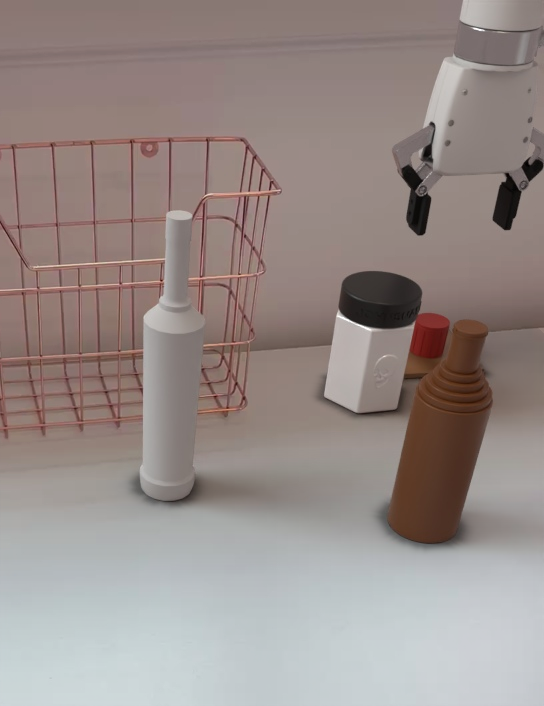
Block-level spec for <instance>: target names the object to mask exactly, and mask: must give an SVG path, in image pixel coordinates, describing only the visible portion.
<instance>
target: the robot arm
mask: <svg viewBox="0 0 544 706" xmlns="http://www.w3.org/2000/svg"><path fill="white" fill-rule="evenodd" d="M543 21H544V0H462V3H461V9H460V14H459V20H458V25H457V30H456V37H455V42H454V48H453V54H452V56H445V57H444V58H443V61H442V62H441V65H440V68H439V70H438V73H437V76H436V80H435V81H434V85H433V89H432V92H431V94H430V97H429V102H428V107H427V110H426V113H425V117H424V122H423V125H422V128H421V129H420V130H417V132H414V133H413V134H411V135H409V136H407V137H405V138H404V139H402V140H401V141H399V142H397V143H396V144H394V145H393V146H392V149H391V154H392V156H393V160H394V162H395V166H396V168H397V169H396V170H397V173H398V175H399V176H400V177H401V178H402V179H403V181H404V182H405V183H406V185H407V187H408V188H409V189H410V190H409V191H410V192H409V197H408V203H407V210H406V217H405V220H406V223H407V227H408V228H409V230H411V231H412V232H413V233H414V234H415V235H416V236H419V237H420V236H421V237H422V236H424V235H425V234H426V232H427V227H428V221H429V216H430V210H431V204H432V197H431V195H429V192H430V191H431V189H432V188H433V187H434V186H435V185H436V184H437V182H439V181H440V179H441V178H442V177H457V176H458V177H459V176H482V175H499V174H503V176H504V178H505V181H501V182H500V183H501V184H500V185H499V186H498V190H497V196H496V200H495V204H494V208H493V213H492V221H493V222H494V224H496V225H497V226H498V227H500V228H501V229H502V230H504V231H511V230H512V227H513V223H514V219H516V217H517V213H518V209H519V205H520V200H521V197H522V192H525V191H526V190H527V189H528V188H529V186H530V183H531V181H532V180H533V179H535V178H536V177H537V176H538V175H539V174H540V173H541V172H542V171H543V170H544V133H543V132H542V131H540V130H539V129H537V128H535V127H534V122H535V116H536V108H537V99H538V88H539V87H538V86H539V63H538V62H537V61H536V60H535V58H536V57H537V54H538V50H539V49H540V48H541V47H544V29H543ZM530 143H532V144H533V145H534V150H533V152H532V155H531V156H528V157H527V155H528V151H529V148H530ZM417 152H418V159H419V160H420V161H421V163H420V164H419V166H418V167H417V168H416V169H414V167H413V164H412V156H413V155H414V154H416V153H417Z"/></svg>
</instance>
